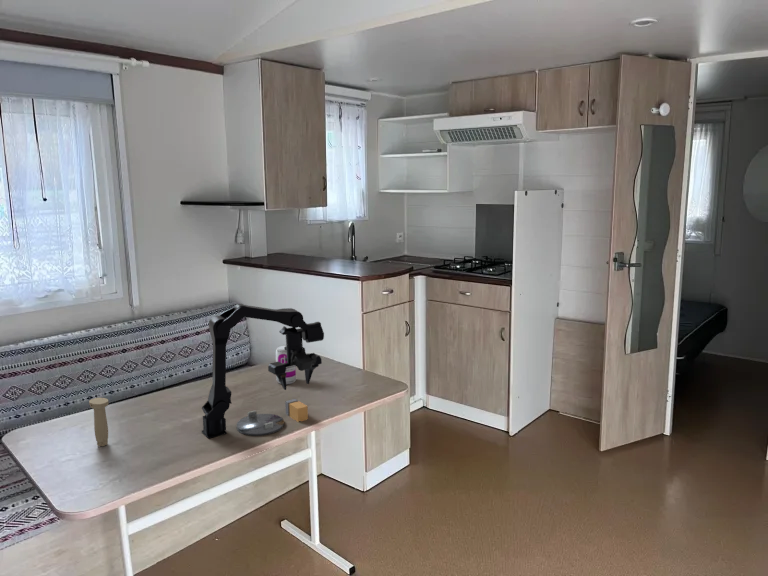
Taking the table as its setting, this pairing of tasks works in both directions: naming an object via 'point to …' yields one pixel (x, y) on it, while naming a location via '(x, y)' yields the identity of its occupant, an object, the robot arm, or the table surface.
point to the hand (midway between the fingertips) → (296, 386)
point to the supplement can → (280, 357)
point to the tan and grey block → (296, 410)
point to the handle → (100, 420)
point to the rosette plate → (259, 424)
